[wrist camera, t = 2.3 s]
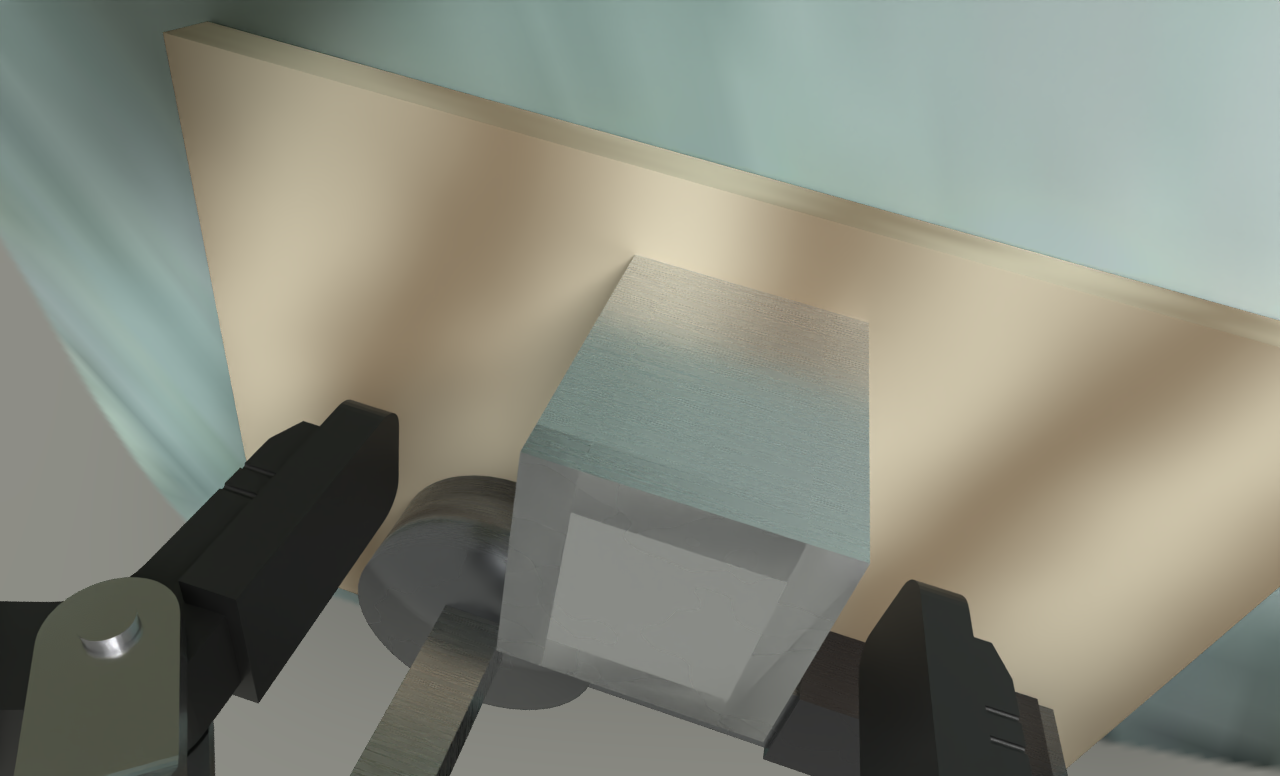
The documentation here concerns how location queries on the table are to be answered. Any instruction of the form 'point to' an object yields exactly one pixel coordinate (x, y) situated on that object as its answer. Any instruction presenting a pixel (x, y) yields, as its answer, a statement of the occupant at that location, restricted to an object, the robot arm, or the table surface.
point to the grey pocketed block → (694, 499)
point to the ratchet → (476, 673)
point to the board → (772, 263)
